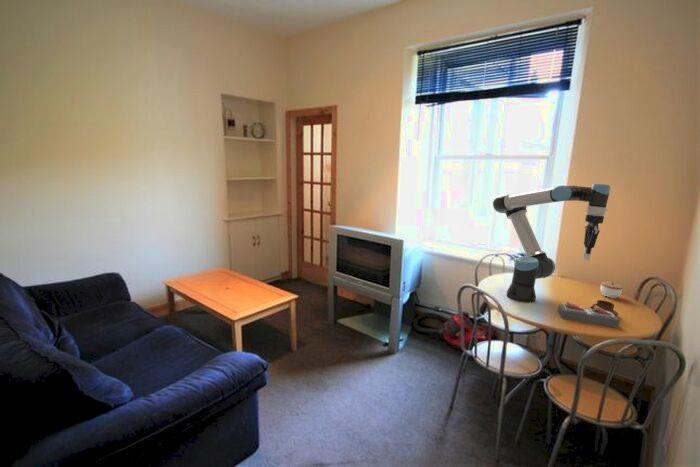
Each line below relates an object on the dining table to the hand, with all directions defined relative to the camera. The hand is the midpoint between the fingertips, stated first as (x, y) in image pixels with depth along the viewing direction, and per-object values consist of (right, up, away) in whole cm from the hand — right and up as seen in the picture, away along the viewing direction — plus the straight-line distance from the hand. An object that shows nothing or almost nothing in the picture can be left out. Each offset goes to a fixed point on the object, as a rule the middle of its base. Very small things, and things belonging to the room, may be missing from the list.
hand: (585, 259), depth 178 cm
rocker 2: (+3, -25, -8) cm, 26 cm away
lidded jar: (+35, -25, +29) cm, 52 cm away
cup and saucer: (+12, -29, +3) cm, 32 cm away
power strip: (-3, -30, -5) cm, 31 cm away
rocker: (-9, -24, -4) cm, 26 cm away
